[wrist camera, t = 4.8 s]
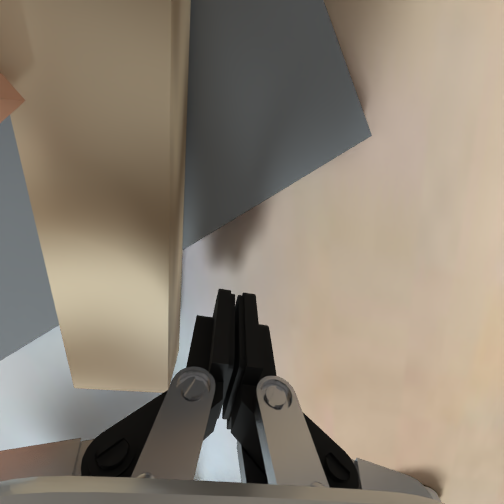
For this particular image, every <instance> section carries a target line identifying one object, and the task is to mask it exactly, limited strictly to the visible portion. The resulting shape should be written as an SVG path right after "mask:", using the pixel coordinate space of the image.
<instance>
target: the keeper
mask: <svg viewBox="0 0 504 504" xmlns="http://www.w3.org/2000/svg"><path fill="white" fill-rule="evenodd" d="M25 101H26V100H25V99H24V98H23V97H22V96H21V95H20V94H19V93H18V91H17V90H16V89H15V88H14V87H13V86H12V85H11V84H10V82H9V81H8V80H7V79H6V78H5V77H4V76H3V75H2V73H1V72H0V123H1V122H2V121H3V120H4V119H5V118H7V117H8V116H9V115H10V114H11V113H12V112H13V111H14V110H16V109H17V108H18V107H19V106H20V105H21V104H22V103H24V102H25Z"/></svg>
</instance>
